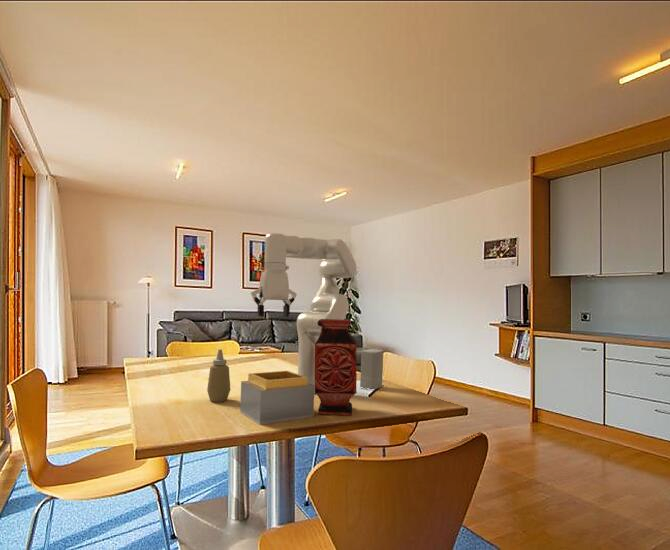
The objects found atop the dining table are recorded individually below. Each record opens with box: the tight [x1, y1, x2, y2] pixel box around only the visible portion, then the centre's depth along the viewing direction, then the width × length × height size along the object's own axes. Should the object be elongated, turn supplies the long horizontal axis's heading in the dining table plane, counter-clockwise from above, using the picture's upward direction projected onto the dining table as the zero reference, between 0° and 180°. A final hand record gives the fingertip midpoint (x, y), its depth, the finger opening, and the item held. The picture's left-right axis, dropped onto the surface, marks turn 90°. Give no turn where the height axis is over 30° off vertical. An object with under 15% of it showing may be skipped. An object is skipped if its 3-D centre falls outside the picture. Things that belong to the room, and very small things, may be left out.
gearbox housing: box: [239, 370, 315, 425], centre depth 143 cm, size 18×16×12 cm
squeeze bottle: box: [206, 348, 231, 403], centre depth 161 cm, size 8×8×18 cm
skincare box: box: [359, 348, 384, 390], centre depth 189 cm, size 8×7×16 cm
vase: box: [314, 319, 358, 416], centre depth 150 cm, size 14×14×30 cm
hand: (273, 316), depth 160 cm, fingers open, 9 cm apart
